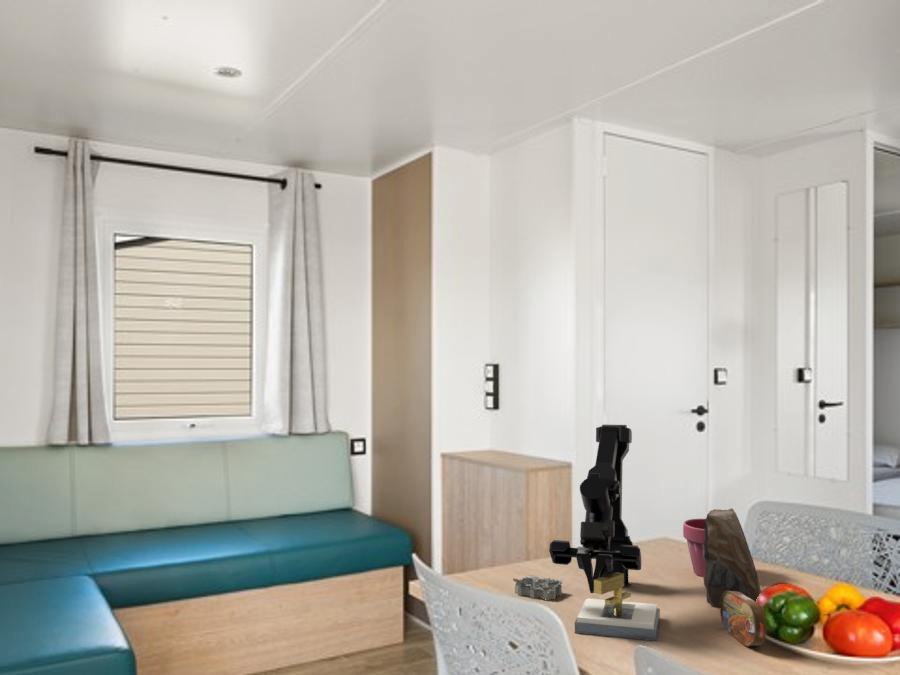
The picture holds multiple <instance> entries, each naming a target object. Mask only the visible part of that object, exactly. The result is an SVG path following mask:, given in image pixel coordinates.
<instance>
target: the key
mask: <svg viewBox="0 0 900 675" xmlns="http://www.w3.org/2000/svg"><path fill="white" fill-rule="evenodd" d="M623 587H625V586H624V574H623V573H619V572H615V573H612V574H610V575H607V576H604V577H601V578H598V579H595V580H594V593H593V594H597V595H604V594H607V593H610V592H612V591H613V594H612V596H610V597H608V598H606V599H604V600H605V604H609V605H610V604H613V603H614V615H616V616H622V615H623V604H622V601H623V600H626V599H629V598H630V597H632V596H631V595H632V593H631V592H629V591H623Z"/></svg>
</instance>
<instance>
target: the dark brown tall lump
mask: <svg viewBox="0 0 900 675" xmlns="http://www.w3.org/2000/svg"><path fill="white" fill-rule="evenodd" d="M705 519H706V520H705V522H704V525H705V528H704V531H705V544H704V547H705V548H704V549H705V552H704V558H705V565H706V571H705V573H704V577H703V585H704V588H705V591H706V594H705V595H706V602H707V604H709V605H710V606H711V608H714V609H715V608H716V609H720V602H721V597H722V595H723V593H724V592H725V591H736V592H740V593H742V594H744V595H745V596H747V597H749V598H750V599H752V600H754V601H755V602H756V599H757V597H758V596H759V594H760V593H761V592H762V589H761V586H760V582H759V577H758V576H759V575H758V573H757V570H756V569H757V568H756V567H755V562H754V560H753V556H752V553H751V550H750V548H749V544H748V541H747V538H746V535H745V532H744V529H743V527H742V524H741V522H740V519H739V517H738V515H737V513H736V512H735V510H734V508H731V507H730V508H729V509H720V508H718V509H715V508H714V509H712V510H710V511H709V512H708V513H707V514H706V518H705Z"/></svg>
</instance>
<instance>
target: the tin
mask: <svg viewBox="0 0 900 675" xmlns="http://www.w3.org/2000/svg"><path fill="white" fill-rule="evenodd" d="M719 613H720V619H721V624H722V626H723V628H724V630H725V632H726V633H727V634H729V636H731V637H733V638H734V639H736V641H738V642H739V643H740V644H742V645H743V646H744V647H759V646H760V647H761V646H762V645H763V644H764V643H765V641H766V634H767V619H766V614H765V611H764V610H763V608H762V607H761V606H760V605H759V604H758V603H757V602H755V601H754V600H752V599H750V598H749V597H747V596H745V595H744V594H742V593H740V592H736V591H725V592H724V593H723V595H722V597H721V602H720V608H719Z"/></svg>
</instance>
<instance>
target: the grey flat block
mask: <svg viewBox="0 0 900 675" xmlns="http://www.w3.org/2000/svg"><path fill="white" fill-rule="evenodd" d="M582 607H583V605H582V606H581V608H580V610H581V609H582ZM633 612H634V609H625V608H623V615H622V616H616V615H614V608H613V607H606V608H605V611H604V613H603V616H602V617H606V618H617V619H628V620H631V619H632V616H633ZM660 620H661V610H660V608H659V607H657V613H656V619H655V625H654V629H644V628H633V627H623V626H612V625H601V624H590V623H580V622H577V618H576V619H575V622H574V633H575V634H581V633H585V634H584V635H592V634H594V635H593V636H602V635H604V636H603V637H614V638H622V639H623V638H625V639H635V640H642V641H643V640H645V641H657V640H658V633H659V632H658V631H659V627H660V626H659V625H660ZM595 634H596V635H595Z"/></svg>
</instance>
